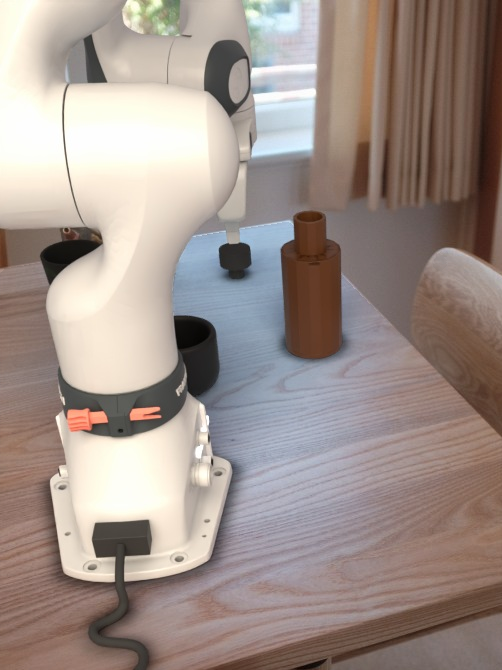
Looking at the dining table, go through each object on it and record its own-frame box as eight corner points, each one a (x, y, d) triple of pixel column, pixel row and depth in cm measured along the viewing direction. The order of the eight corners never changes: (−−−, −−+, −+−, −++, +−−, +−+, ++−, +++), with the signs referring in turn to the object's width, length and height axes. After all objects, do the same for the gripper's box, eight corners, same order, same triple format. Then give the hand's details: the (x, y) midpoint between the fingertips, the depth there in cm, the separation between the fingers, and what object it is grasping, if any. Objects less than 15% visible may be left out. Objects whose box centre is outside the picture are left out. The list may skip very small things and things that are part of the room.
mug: (202, 358, 115) (195, 307, 110) (234, 390, 109) (229, 337, 104) (112, 386, 110) (101, 333, 106) (141, 421, 104) (131, 367, 100)
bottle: (345, 356, 115) (344, 226, 104) (288, 360, 114) (281, 230, 103) (337, 329, 120) (336, 203, 110) (283, 333, 120) (276, 206, 109)
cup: (128, 342, 118) (113, 254, 111) (73, 359, 115) (53, 270, 107) (105, 319, 123) (88, 234, 116) (51, 335, 120) (30, 248, 112)
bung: (253, 281, 132) (251, 253, 129) (221, 283, 131) (218, 256, 129) (251, 267, 135) (249, 240, 133) (220, 269, 135) (217, 242, 132)
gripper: (197, 104, 128) (208, 201, 137) (200, 154, 112) (211, 260, 121) (242, 102, 128) (250, 198, 137) (251, 152, 113) (258, 256, 122)
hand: (232, 227), depth 129 cm, fingers open, 8 cm apart
